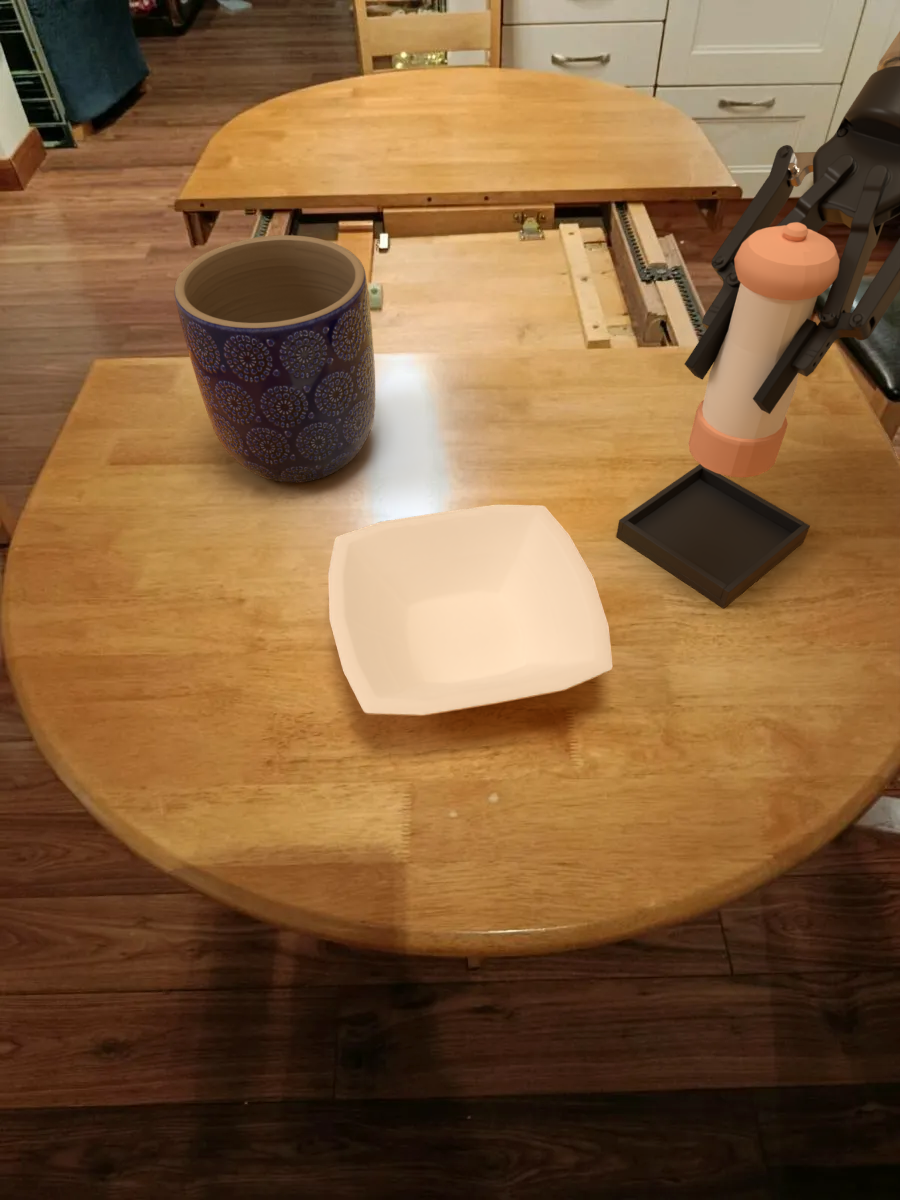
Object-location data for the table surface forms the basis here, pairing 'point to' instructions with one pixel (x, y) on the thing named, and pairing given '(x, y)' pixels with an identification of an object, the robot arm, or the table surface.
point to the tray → (712, 533)
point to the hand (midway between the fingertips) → (727, 388)
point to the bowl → (464, 610)
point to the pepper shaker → (760, 347)
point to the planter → (282, 352)
